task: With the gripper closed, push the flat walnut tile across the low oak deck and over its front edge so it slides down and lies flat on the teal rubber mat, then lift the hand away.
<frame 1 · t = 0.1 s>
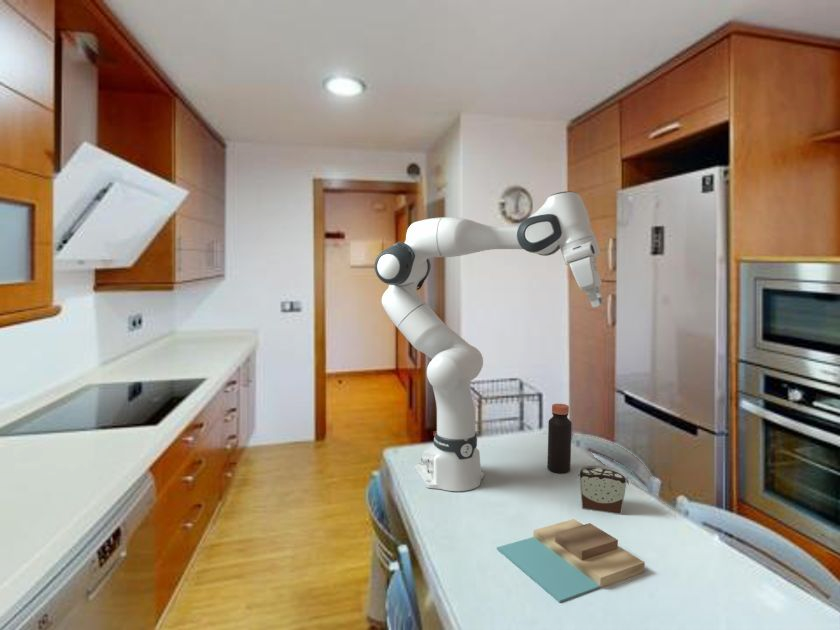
hand: (598, 305, 127), 52 cm above the table, tool tilted 20°, fingers open, 8 cm apart
bottle: (558, 470, 155), on the table
tile: (585, 545, 109), point 2 cm above the table, touching deck
deck: (585, 554, 109), on the table
mat: (545, 567, 104), on the table
cake slice: (601, 507, 131), on the table
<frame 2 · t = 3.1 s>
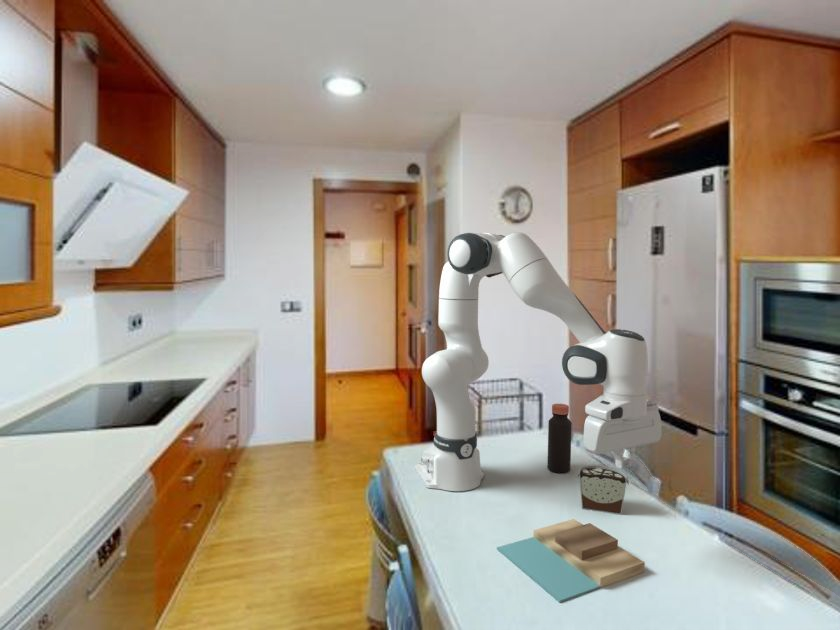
hand: (623, 466, 111), 18 cm above the table, tool pointing down, fingers closed
nothing on the table moved.
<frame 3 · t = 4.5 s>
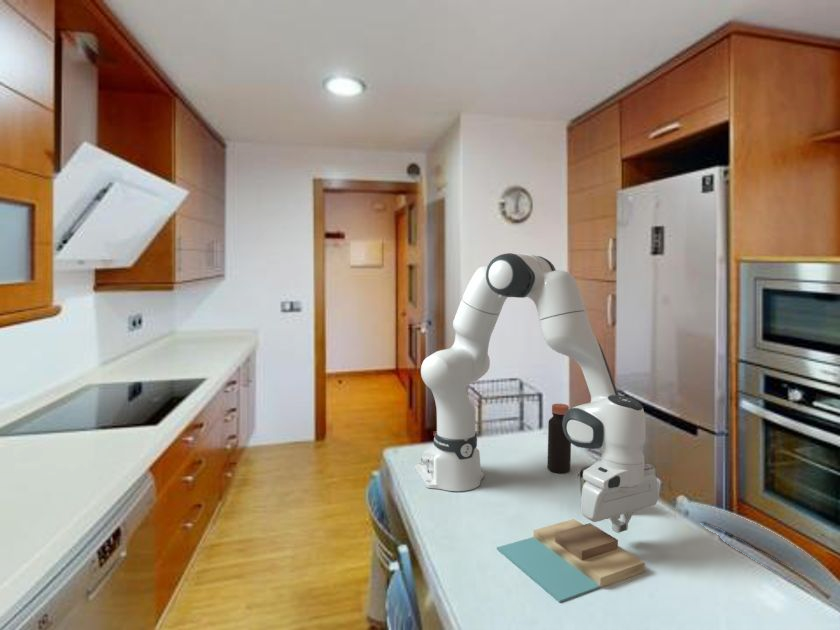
hand: (619, 530, 113), 3 cm above the table, tool pointing down, fingers closed
nothing on the table moved.
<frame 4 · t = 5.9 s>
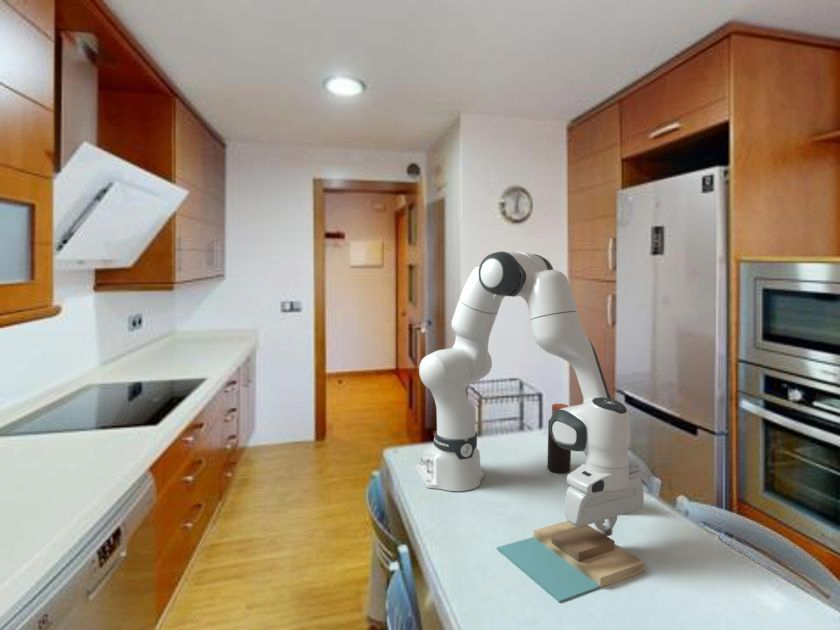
hand: (604, 535, 111), 3 cm above the table, tool pointing down, fingers closed
tile: (582, 546, 108), point 2 cm above the table, touching gripper
everything else where it was.
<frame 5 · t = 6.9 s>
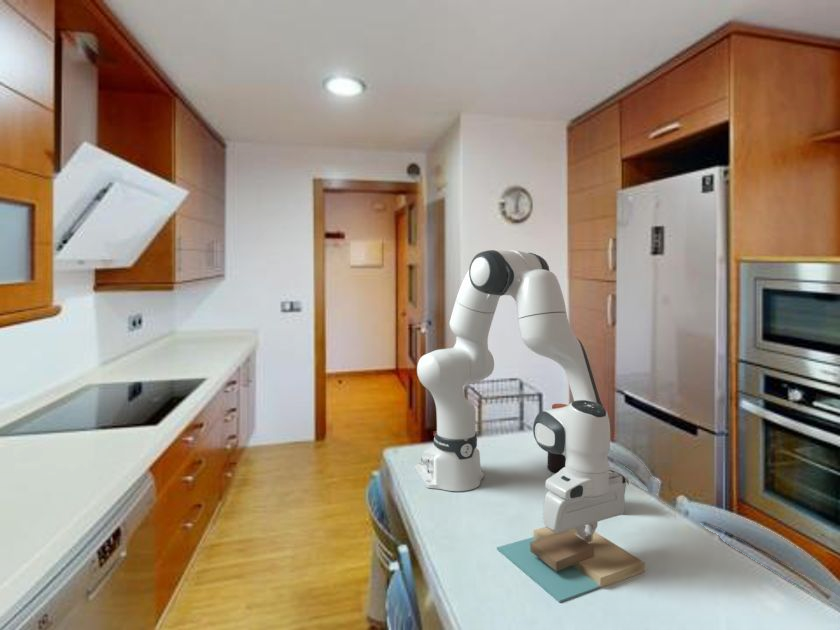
hand: (584, 541, 108), 3 cm above the table, tool pointing down, fingers closed
tile: (561, 553, 105), point 2 cm above the table, touching deck, gripper
everything else where it was.
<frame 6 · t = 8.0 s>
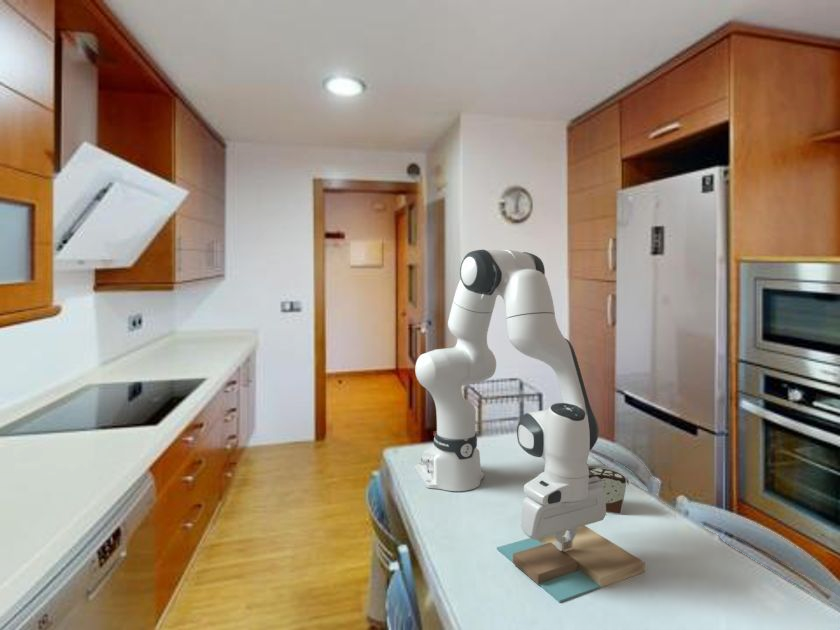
hand: (564, 547, 106), 3 cm above the table, tool pointing down, fingers closed
tile: (544, 566, 103), resting on mat
everything else where it was.
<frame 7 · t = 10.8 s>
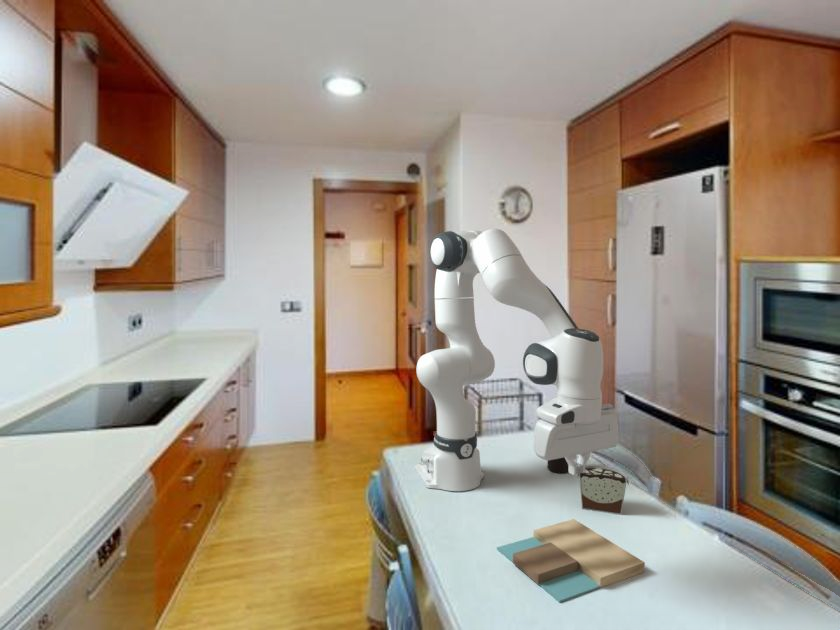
hand: (576, 473, 106), 18 cm above the table, tool pointing down, fingers closed
nothing on the table moved.
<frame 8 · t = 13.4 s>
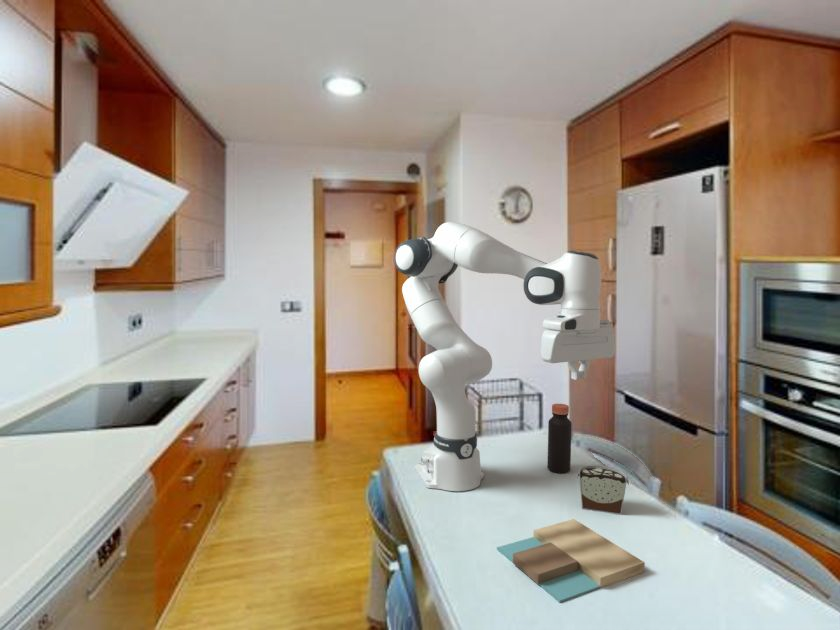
hand: (578, 378, 120), 35 cm above the table, tool pointing down, fingers closed
nothing on the table moved.
at the end: tile inside the target area (0.4 cm from its centre), resting on mat; tile tilted 0°; tile touching mat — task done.
